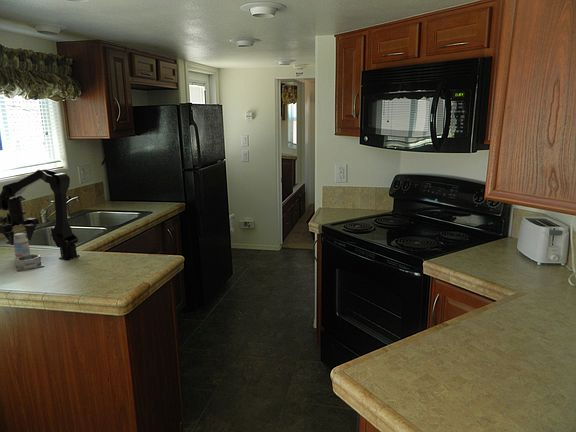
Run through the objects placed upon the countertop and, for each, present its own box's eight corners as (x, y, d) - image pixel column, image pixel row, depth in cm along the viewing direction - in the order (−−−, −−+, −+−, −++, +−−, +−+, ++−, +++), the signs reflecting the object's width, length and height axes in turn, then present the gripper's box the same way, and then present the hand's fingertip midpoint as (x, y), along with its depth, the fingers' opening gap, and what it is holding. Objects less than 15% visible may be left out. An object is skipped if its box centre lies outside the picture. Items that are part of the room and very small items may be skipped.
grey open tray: (43, 266, 188) (42, 259, 188) (17, 271, 183) (16, 263, 182) (41, 259, 200) (39, 251, 199) (15, 263, 194) (14, 255, 193)
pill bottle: (13, 257, 203) (9, 234, 201) (25, 254, 209) (22, 231, 206) (20, 259, 200) (16, 236, 198) (33, 255, 206) (29, 233, 203)
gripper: (20, 206, 211) (25, 236, 214) (-17, 214, 193) (-11, 246, 197) (37, 206, 207) (42, 237, 211) (2, 214, 190) (8, 248, 193)
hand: (21, 242), depth 203 cm, fingers open, 9 cm apart
